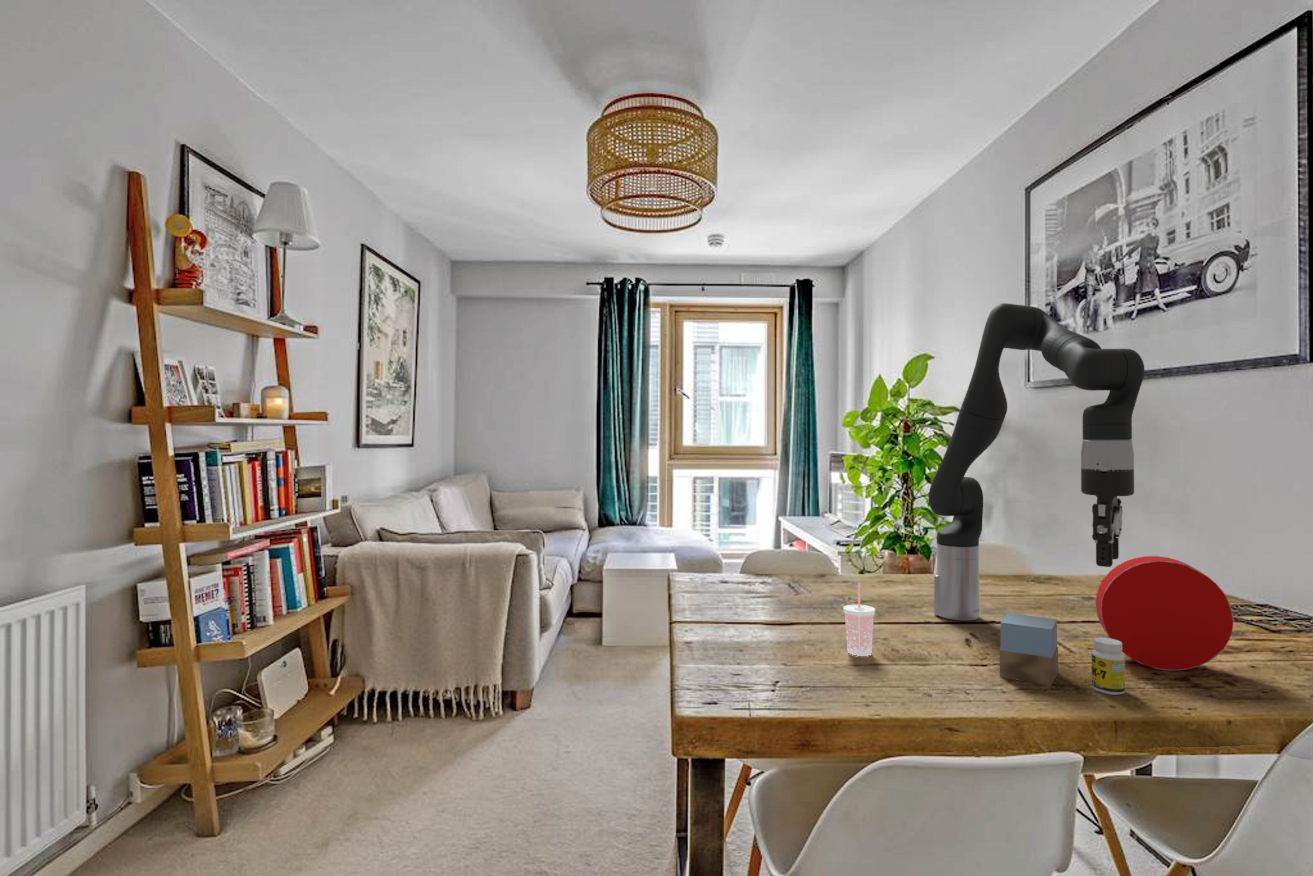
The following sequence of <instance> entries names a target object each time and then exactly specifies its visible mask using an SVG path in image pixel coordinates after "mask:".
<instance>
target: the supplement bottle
mask: <svg viewBox="0 0 1313 876" xmlns="http://www.w3.org/2000/svg"><path fill="white" fill-rule="evenodd" d="M1093 639H1094V640H1093V648H1094V649H1092V651H1091V688H1092V689H1093V690H1094V691H1097V692H1098V693H1102V694H1106V695H1113V696H1117V695H1118V696H1119V695H1123V694H1125V692H1126V657H1125V654H1124V653H1123V652H1122V642H1120V641H1118V640H1115V639H1110V638H1109V637H1096V638H1093Z"/></svg>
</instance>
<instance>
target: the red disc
mask: <svg viewBox="0 0 1313 876" xmlns="http://www.w3.org/2000/svg"><path fill="white" fill-rule="evenodd" d="M1095 595H1096V596H1095V611H1096V615H1097V618H1098V621H1099V623H1100V625H1101V626H1102V629H1103V631H1104V632H1105V633H1106V635H1107V637H1108V638H1110V639H1115V640H1118V641H1120V642H1122V652H1121V653H1122V654H1123V655H1126V656H1127V657H1129V658H1130V660H1131V659H1132V660H1133V661H1135V662H1136V663H1139V664H1141V665H1144V666H1147V667H1150V668H1152V669H1157V670H1163V671H1183V670H1184V671H1185V670H1189V669H1193V668H1198V667H1200V666H1202V665H1204V664H1207V663H1209V662H1211V661H1212V660H1213V659H1215V658H1216V657H1217V656H1219V655H1220V653H1221V652H1222V651H1223V650H1224V649H1225V647H1226V646H1227V644H1228V642H1229V641H1230V639H1231V636H1232V633H1233V629H1234V628H1233V626H1234V614H1233V610H1232V607H1231V603H1230V600H1229V599H1228V597H1227V596H1226V594H1225V592H1224V591H1223V590H1222V589H1221V587H1220V586H1219V585H1218V584H1217V583H1216V582H1215V581H1214V580H1213V579H1212V578H1211V577H1209V576H1208V575H1206V574H1204V573H1203V572H1201V571H1200V570H1198V569H1196V568H1195V567H1193V566H1191V565H1190V564H1188V563H1185V562H1183V561H1180V560H1179V559H1178V560H1177V559H1174V558H1170V557H1166V556H1159V555H1148V556H1147V555H1146V556H1145V555H1144V556H1140V557H1134V558H1132V559H1128V560H1125V561H1124V562H1122V563H1120V564H1118V565H1116V566H1114V568H1112V569H1111V570H1110V571H1109V572H1108V573H1107V574H1106V575H1105V576H1104V578H1103V579H1102V581H1101V582H1100V583H1099V586H1098V589H1097V592H1096V594H1095Z"/></svg>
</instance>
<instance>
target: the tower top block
mask: <svg viewBox="0 0 1313 876" xmlns="http://www.w3.org/2000/svg"><path fill="white" fill-rule="evenodd" d="M1057 647H1058V619H1057V618H1051V617H1043V616H1034V615H1027V614H1019V613H1012V612H1007V614H1006V615H1005V616H1004V617H1003V619H1002V620H1001V621H1000V649H1001V650H1002V651H1009V652H1015V653H1021V654H1028V655H1034V656H1040V657H1047V658H1052V657H1053V655H1054V652H1055V650H1056V648H1057Z"/></svg>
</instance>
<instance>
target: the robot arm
mask: <svg viewBox="0 0 1313 876" xmlns="http://www.w3.org/2000/svg"><path fill="white" fill-rule="evenodd" d="M1004 349H1009V350H1010V349H1012V350H1019V351H1028V350H1030V351H1037V352H1041V355H1042V357H1043V358H1044V360H1045V361H1046V363H1048V364H1049V365H1050V366H1053V367H1054V368H1056V369H1058V370H1060V371H1062V372H1064V373H1065V376H1066V377H1067V378H1068V380H1069V381H1070V383H1071V384H1072V385H1073V386H1074V387H1076V388H1078V389H1081V390H1085V391H1109V393H1108V396H1107V398H1106V399H1105V401H1104V402H1102V403H1098V404H1093V405H1090V406H1087V407H1086V408H1085V409H1084V410H1083V412H1082V444H1081V450H1080V451H1081V452H1080V480H1081V481H1080V491H1081V493H1082V495H1083V494H1084V495H1088V496H1095V497H1096V503H1093V505H1092V506H1091V507H1092V508H1091V513H1092V524H1091V527H1092V535H1091V538H1092V540H1093V541H1094V543H1095V564H1096V566H1098V567H1105V568H1111V567H1113V562H1114V561H1113V560H1118V559H1119V556H1120V551H1119V550H1120V547H1119V546H1120V544H1119V543H1120V542H1119V538H1120V536H1121V534H1122V533H1121V532H1122V529H1123V528H1122V527H1123V517H1122V516H1123V513H1124V512H1123V511H1124V510H1123V509H1124V508H1123V505H1122V500H1121V498H1119V497H1129V496H1132V495H1134V494H1135V453H1134V452H1135V451H1134V447H1133V440H1132V439H1133V425H1132V424H1133V413H1134V409H1135V407H1136V406H1135V405H1136V402H1137V399H1138V397H1139V396H1138V395H1139V393H1140V390H1141V387H1142V384H1143V381H1144V376H1145V364H1144V361H1143V358H1142V357H1141V355H1140V354H1139V352H1137V351H1135V350H1133V349H1130V348H1102V347H1101V346H1100V345H1099V343H1098V342H1096V341H1095V340H1093V339H1091V338H1089V337H1087V336H1084V335H1082V334H1080V333H1077V332H1075V331H1073V330H1071V329H1068V328H1066V327H1065V326H1063V325H1061V323H1059V322H1058V321H1056V320H1055V319H1054V318H1053V317H1052V316H1051V315H1049V314H1048V313H1047V312H1046V311H1044V310H1043V309H1041V308H1039V307H1036V306H1033V305H1032V306H1029V305H1024V304H1016V303H1014V304H1013V303H1002V302H1000V303H998V304H996V305H995V306H994V307H993V308H992V309H991V311H989V315H988V317H987V319H986V321H985V324H984V328H983V331H982V336H981V340H980V346H979V350H978V353H977V357H976V362H975V365H974V367H973V368H974V369H973V372H972V375H971V379H970V381H969V384H968V387H967V390H966V392H965V395H964V397H963V401H962V404H961V406H960V409H959V412H958V415H957V418H956V422H955V426H954V429H953V432H952V434H951V437H950V440H949V442H948V445H947V448H946V451H945V453H944V455H943V457H942V460H941V462H940V465H939V466H938V469H937V470H936V472H935V476H934V477H933V480H932V482H931V485H930V487H929V492H928V504H929V508H930V509H931V511H932V512H933V513H934V514H935V515H937V516H942V517H953V518H952V520H951V522H950V523H949V524H948V525H947V526H946V527H943V528H942V529H940V530H938V532H937V533H936V574H935V575H934V576H933V586H934V587H933V589H934V590H933V592H934V593H933V599H934V600H933V601H934V602H933V605H934V608H933V609H934V614H933V615H934V616H937V615H938V616H939V617H941V618H944V619H948V620H953V621H965V622H966V621H976V620H979V619H980V537H981V535H982V532H983V518H984V517H983V515H984V493H983V489H982V486H981V484H980V483H979V481H978V479H976V478H974V477H972V476H965V475H966V473H968V469H969V468H970V466H971V465H972V464H973V463H974V461H976V460H977V458H979V457H980V456H981V455H982V454H983V453H984V452H985V451H986V450H987V449H988V448H989V447H990V446H991V445H992V444H993V443H994V441H995V440H996V439H997V438H998V436H999V434H1000V432H1001V429H1002V426H1003V424H1004V421H1005V418H1006V415H1007V412H1008V400H1007V397H1006V393H1005V390H1004V387H1003V383H1002V381H1001V377H1000V370H999V369H1000V361H1001V357H1002V354H1003V350H1004Z"/></svg>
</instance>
